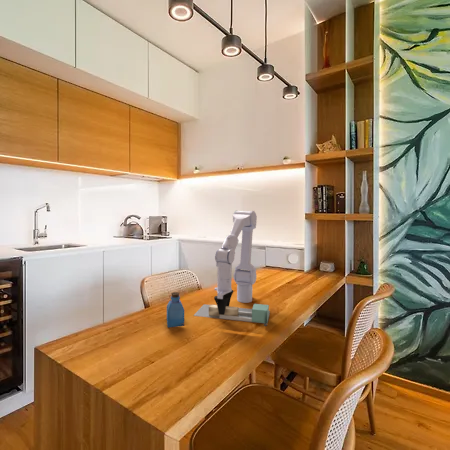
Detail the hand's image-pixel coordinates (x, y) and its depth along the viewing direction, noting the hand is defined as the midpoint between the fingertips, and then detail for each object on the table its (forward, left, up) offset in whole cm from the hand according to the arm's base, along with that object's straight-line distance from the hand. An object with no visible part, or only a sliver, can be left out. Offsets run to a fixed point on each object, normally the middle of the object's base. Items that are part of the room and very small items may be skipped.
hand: (223, 310), depth 119 cm
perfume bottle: (+11, -17, -3) cm, 20 cm away
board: (-3, +3, -3) cm, 6 cm away
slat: (0, 0, -2) cm, 2 cm away
